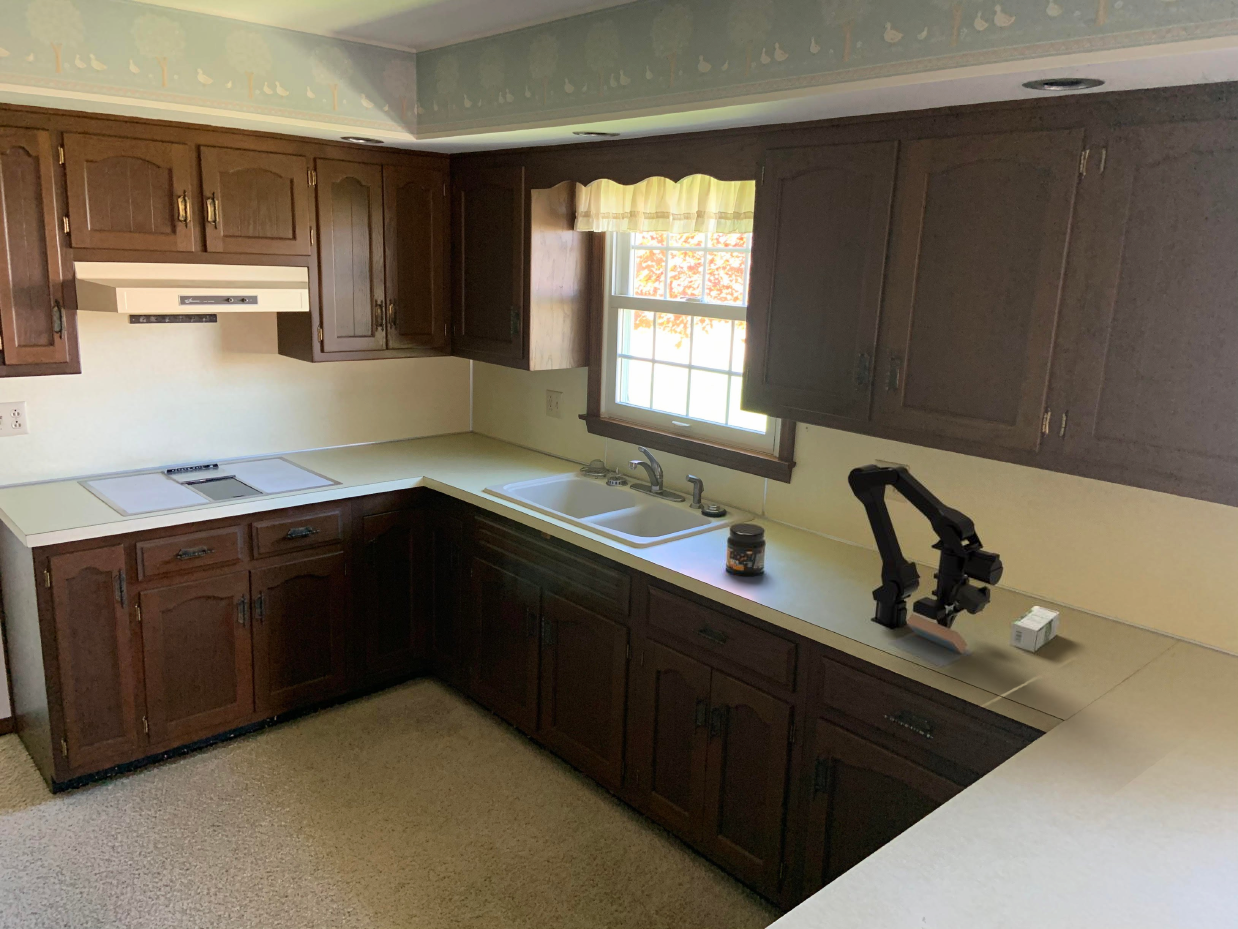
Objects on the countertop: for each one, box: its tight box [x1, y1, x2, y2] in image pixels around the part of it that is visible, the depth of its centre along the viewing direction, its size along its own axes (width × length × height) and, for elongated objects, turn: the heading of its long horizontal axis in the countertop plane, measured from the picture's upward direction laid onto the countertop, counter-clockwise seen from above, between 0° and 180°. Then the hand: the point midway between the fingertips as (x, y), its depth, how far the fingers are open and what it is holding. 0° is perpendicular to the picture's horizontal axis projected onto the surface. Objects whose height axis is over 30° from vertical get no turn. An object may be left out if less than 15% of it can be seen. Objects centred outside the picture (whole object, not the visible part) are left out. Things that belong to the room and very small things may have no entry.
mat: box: [887, 631, 973, 668], centre depth 204 cm, size 14×12×1 cm
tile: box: [906, 613, 968, 654], centre depth 204 cm, size 12×3×6 cm
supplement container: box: [725, 522, 767, 577], centre depth 246 cm, size 10×10×12 cm
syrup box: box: [1009, 605, 1060, 653], centre depth 209 cm, size 6×6×14 cm
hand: (944, 634), depth 207 cm, fingers closed
